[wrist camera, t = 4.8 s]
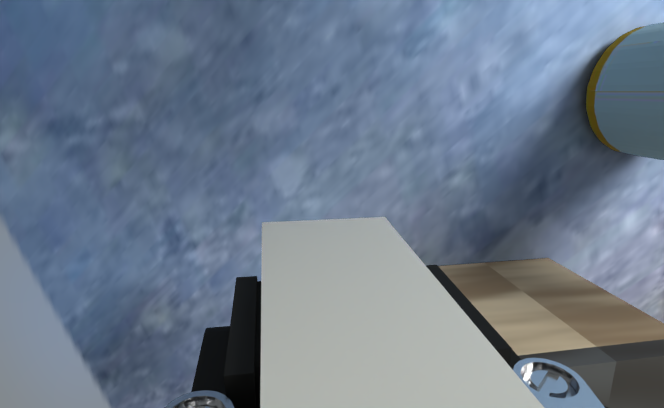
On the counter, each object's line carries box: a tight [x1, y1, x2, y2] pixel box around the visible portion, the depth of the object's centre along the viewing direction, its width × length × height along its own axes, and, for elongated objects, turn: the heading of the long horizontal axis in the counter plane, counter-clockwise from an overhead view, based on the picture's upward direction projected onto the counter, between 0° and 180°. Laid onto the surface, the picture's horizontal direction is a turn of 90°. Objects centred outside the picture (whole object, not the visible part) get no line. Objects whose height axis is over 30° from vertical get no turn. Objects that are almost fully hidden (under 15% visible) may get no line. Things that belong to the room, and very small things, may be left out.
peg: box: [260, 217, 544, 408], centre depth 10 cm, size 4×4×10 cm
